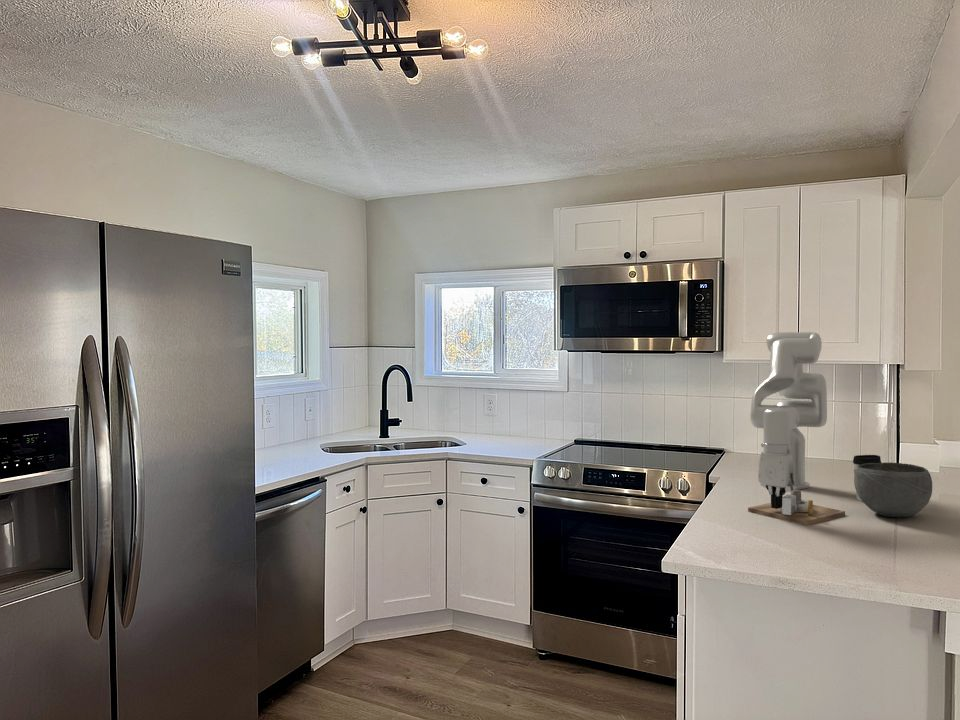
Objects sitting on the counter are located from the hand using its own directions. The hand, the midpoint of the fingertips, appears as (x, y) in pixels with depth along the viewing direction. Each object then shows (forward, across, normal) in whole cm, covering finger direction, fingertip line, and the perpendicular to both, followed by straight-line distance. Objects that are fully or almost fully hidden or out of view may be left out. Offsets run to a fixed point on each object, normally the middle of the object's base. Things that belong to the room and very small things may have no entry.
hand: (776, 507), depth 218 cm
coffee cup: (+3, +4, +42) cm, 42 cm away
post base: (+3, +2, +7) cm, 8 cm away
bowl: (+3, +19, +30) cm, 35 cm away
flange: (+1, +3, +5) cm, 5 cm away
